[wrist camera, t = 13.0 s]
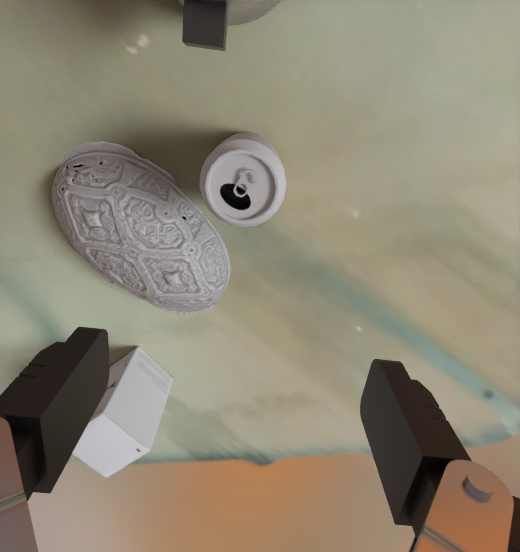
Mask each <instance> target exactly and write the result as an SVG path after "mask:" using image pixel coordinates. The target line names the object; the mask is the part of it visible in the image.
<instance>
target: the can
mask: <svg viewBox="0 0 520 552" xmlns="http://www.w3.org/2000/svg"><path fill="white" fill-rule="evenodd" d="M199 186H200V190H201V195H202V199H203V201H204V202H205V204H206V206H207V208H208V209H209V211H210V212H211V213H212V214H214V215H215V216H216V217H217V218H218V219H219V220H221V221H223V222H225V223H227V224H229V225H233V226H239V227H248V226H255V225H258V224H260V223H262V222H264V221H266V220H268V219H269V218H270V217H271V216H272V215H273V214H274V213H275V212H276V211H277V210H278V209H279V207H280V205H281V203H282V201H283V199H284V196H285V190H286V178H285V171H284V168H283V165H282V163H281V160H280V157H279V155H278V153H277V151H276V149H275V147H274V146H273V145H272V144H271V143H270V142H269V141H268V140H267V139H266V138H264V137H262V136H260V135H258V134H255V133H249V132H243V133H237V134H234V135H232V136H230V137H228V138H227V139H225V140H224V141H223V142H222V143H221V144H220V145H218V146H217V147H216V148H215V149H214V150H213V151H212V153H211V154H210V155H209V156H208V157H207V158H206V160H205V162H204V165H203V167H202V169H201V172H200V183H199Z"/></svg>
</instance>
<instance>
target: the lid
mask: <svg viewBox="0 0 520 552" xmlns="http://www.w3.org/2000/svg"><path fill="white" fill-rule="evenodd" d="M202 1H214V2H220V1H231V0H202Z"/></svg>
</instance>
